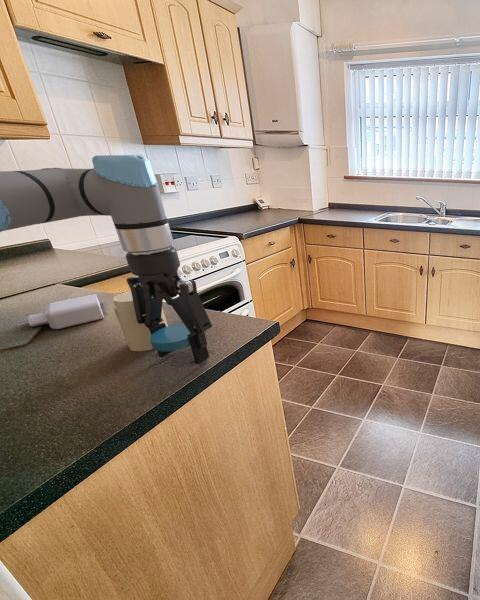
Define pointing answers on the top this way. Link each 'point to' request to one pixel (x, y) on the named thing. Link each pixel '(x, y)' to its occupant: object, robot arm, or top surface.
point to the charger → (67, 313)
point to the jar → (133, 323)
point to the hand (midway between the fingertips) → (184, 356)
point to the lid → (170, 338)
